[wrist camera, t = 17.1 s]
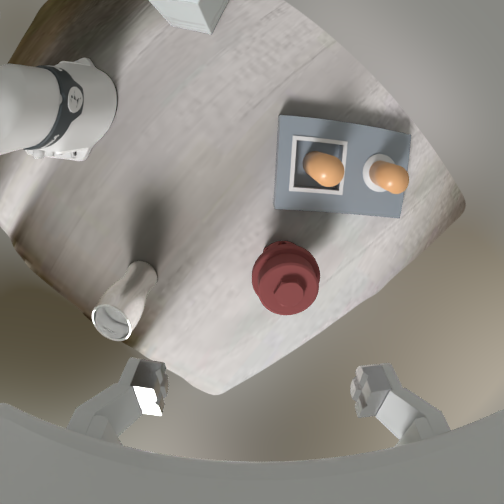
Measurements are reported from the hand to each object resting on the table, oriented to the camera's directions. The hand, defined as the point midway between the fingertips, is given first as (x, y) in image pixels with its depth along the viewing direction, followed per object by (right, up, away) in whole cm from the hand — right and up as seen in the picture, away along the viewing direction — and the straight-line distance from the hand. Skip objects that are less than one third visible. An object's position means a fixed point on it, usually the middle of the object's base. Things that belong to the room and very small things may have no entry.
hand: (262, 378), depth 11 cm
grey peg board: (+14, +19, +32) cm, 40 cm away
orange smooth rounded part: (+9, +19, +31) cm, 38 cm away
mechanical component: (+5, +5, +39) cm, 39 cm away
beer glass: (-21, +1, +40) cm, 45 cm away
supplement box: (-9, +43, +22) cm, 49 cm away
